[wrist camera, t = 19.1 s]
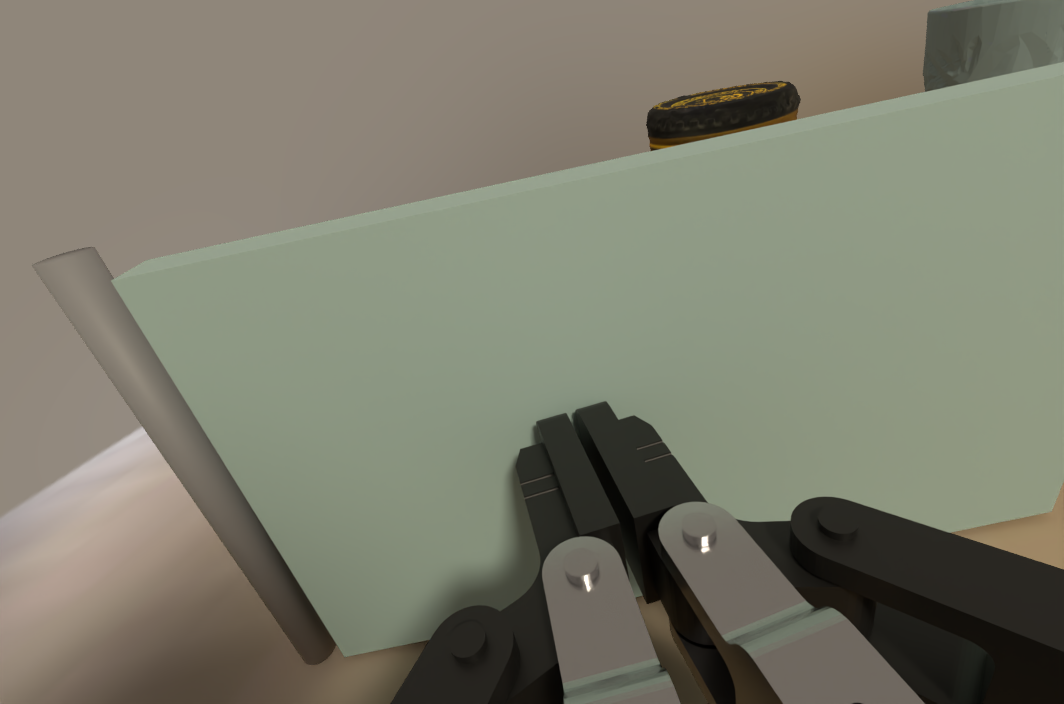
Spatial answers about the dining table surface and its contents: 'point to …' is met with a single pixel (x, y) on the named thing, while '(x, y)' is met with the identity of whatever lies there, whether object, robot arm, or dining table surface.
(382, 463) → the cover door
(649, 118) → the condiment
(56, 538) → the dining table surface
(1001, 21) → the blue-grey cup
